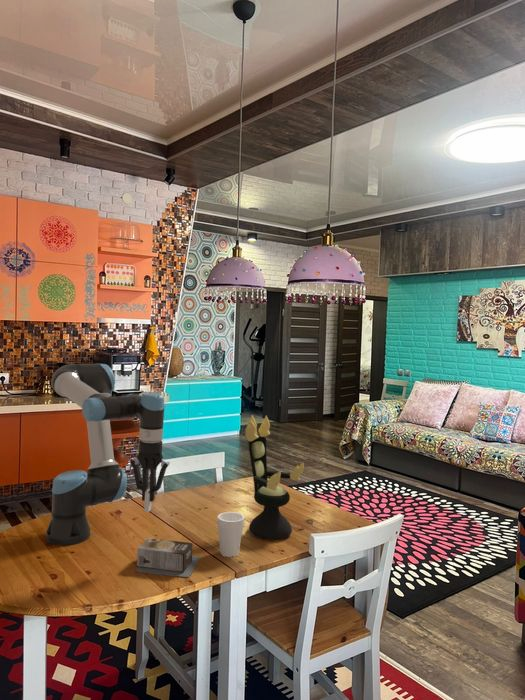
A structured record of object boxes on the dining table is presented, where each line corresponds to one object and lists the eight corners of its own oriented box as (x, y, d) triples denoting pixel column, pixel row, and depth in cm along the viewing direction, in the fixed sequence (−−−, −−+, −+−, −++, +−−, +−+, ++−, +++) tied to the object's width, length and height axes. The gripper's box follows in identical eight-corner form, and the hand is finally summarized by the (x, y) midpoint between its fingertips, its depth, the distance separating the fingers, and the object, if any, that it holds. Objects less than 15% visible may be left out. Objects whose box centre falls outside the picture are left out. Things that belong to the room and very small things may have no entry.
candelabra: (277, 547, 189) (282, 424, 187) (227, 532, 201) (232, 416, 199) (301, 531, 205) (307, 418, 203) (254, 518, 217) (259, 411, 215)
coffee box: (148, 536, 177) (193, 542, 174) (147, 555, 177) (192, 560, 175) (137, 547, 168) (184, 553, 165) (136, 567, 168) (184, 573, 165)
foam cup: (210, 552, 183) (212, 515, 182) (230, 545, 189) (232, 510, 189) (228, 561, 176) (229, 523, 175) (248, 554, 182) (249, 517, 182)
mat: (135, 572, 165) (135, 571, 165) (151, 552, 180) (151, 551, 180) (189, 577, 163) (189, 577, 163) (200, 557, 178) (200, 556, 178)
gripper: (127, 441, 168) (124, 512, 169) (166, 444, 167) (163, 516, 168) (136, 436, 175) (133, 504, 177) (173, 439, 174) (170, 508, 175)
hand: (147, 510), depth 172 cm, fingers closed
